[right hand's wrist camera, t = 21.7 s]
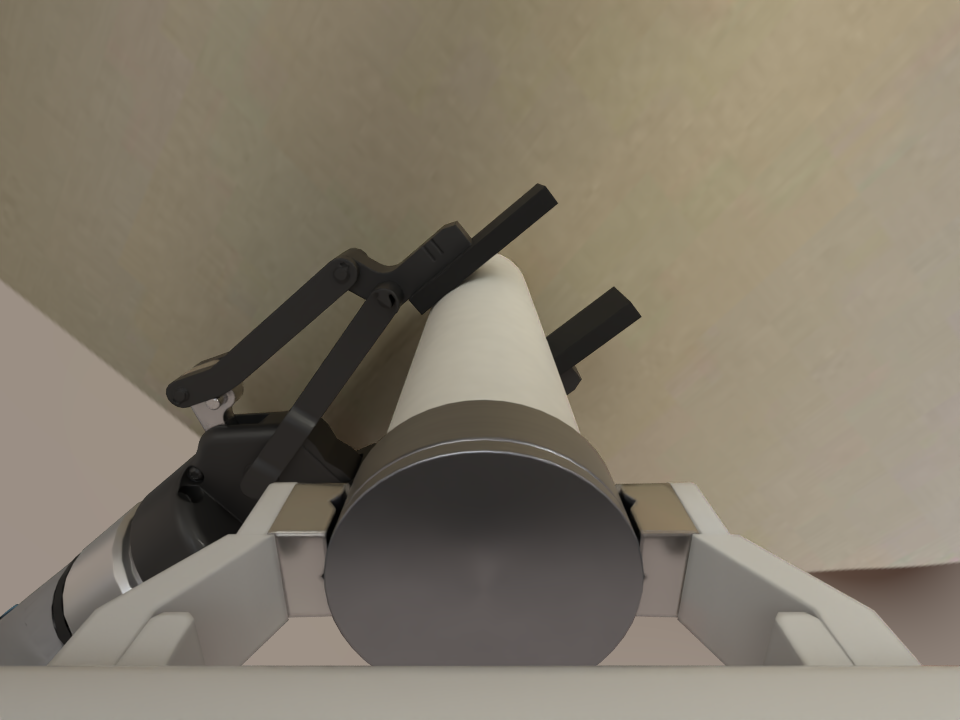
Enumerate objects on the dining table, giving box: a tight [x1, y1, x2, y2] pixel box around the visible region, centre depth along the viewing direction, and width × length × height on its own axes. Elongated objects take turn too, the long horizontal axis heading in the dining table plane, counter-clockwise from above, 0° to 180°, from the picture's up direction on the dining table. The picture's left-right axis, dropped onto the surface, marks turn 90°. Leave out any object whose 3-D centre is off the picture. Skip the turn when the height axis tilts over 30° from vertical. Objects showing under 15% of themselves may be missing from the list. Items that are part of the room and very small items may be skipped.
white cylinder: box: [387, 254, 580, 434], centre depth 18 cm, size 5×5×20 cm
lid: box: [324, 400, 644, 666], centre depth 9 cm, size 5×5×2 cm
